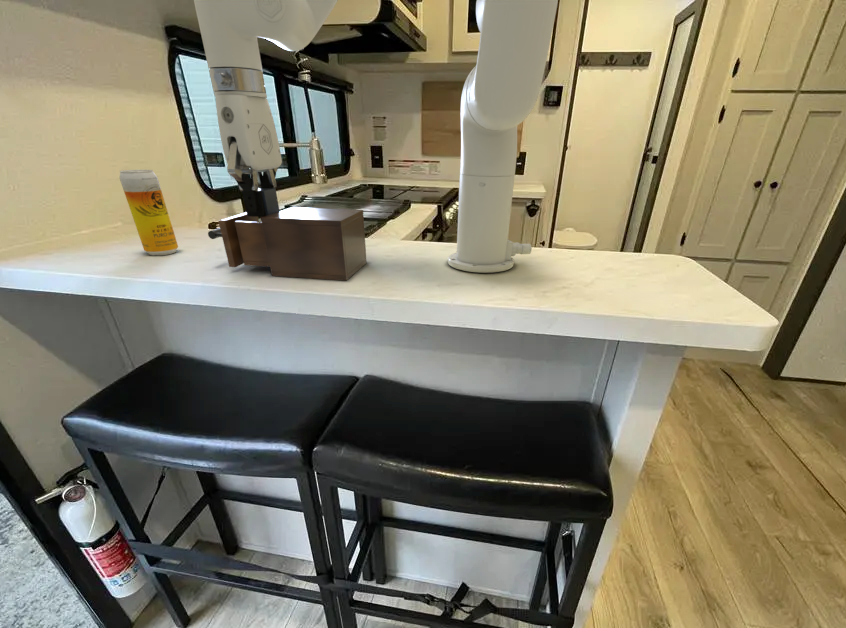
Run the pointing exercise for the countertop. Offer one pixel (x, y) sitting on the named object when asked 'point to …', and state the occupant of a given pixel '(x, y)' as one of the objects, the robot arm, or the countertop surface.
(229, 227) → the drawer
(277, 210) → the block
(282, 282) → the countertop surface
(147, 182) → the beer can
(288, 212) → the cabinet
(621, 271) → the countertop surface
